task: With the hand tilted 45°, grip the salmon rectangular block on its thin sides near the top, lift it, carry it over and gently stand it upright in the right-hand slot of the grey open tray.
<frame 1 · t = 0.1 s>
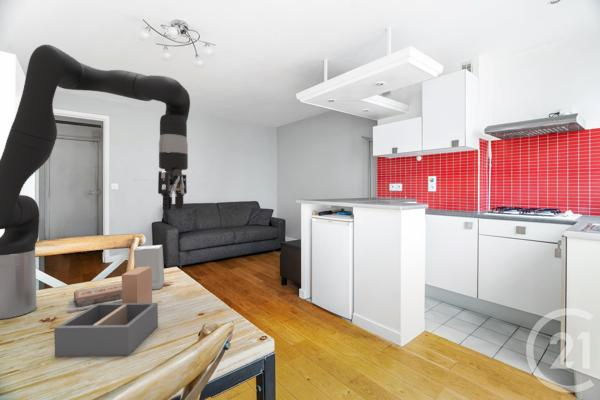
hand: (173, 209, 81), 29 cm above the table, tool pointing down, fingers open, 8 cm apart
salmon rectangular block: (138, 312, 80), on the table
packaged product: (105, 303, 89), on the table
skincare box: (149, 288, 101), on the table
grey open tray: (111, 339, 65), on the table
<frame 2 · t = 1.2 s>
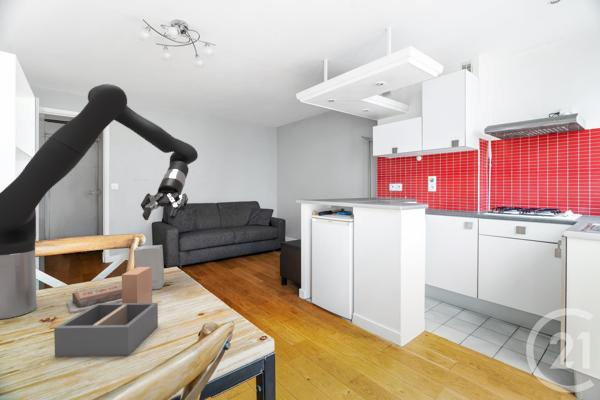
hand: (158, 218, 93), 25 cm above the table, tool tilted 45°, fingers open, 8 cm apart
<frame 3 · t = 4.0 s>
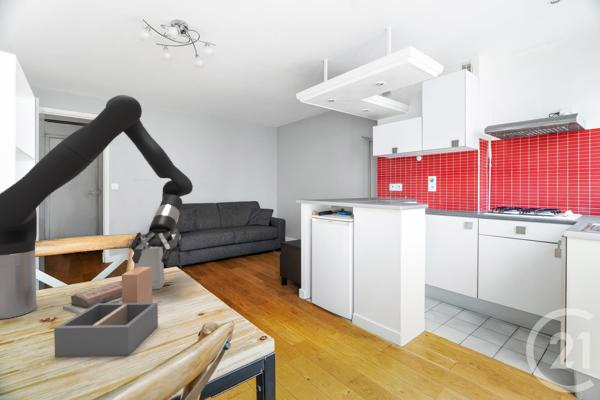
hand: (149, 262, 87), 13 cm above the table, tool tilted 45°, fingers open, 8 cm apart
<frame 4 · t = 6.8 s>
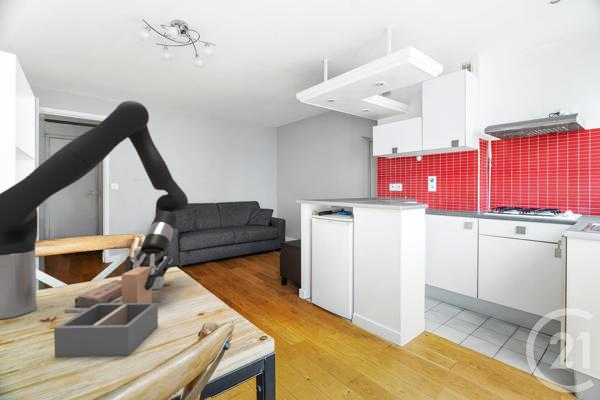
hand: (138, 288, 81), 7 cm above the table, tool tilted 45°, fingers closed on salmon rectangular block, 4 cm apart
salmon rectangular block: (137, 312, 80), on the table, touching gripper
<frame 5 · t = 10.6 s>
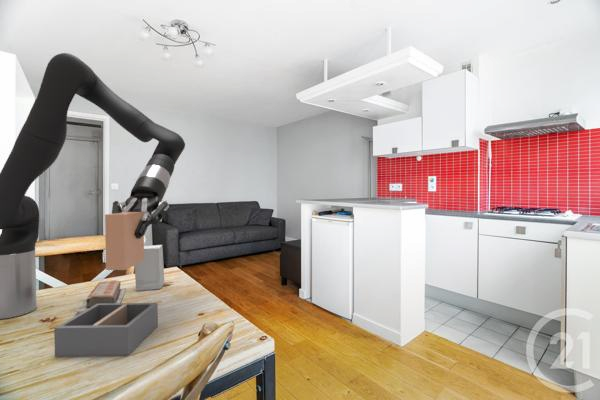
hand: (127, 236, 66), 24 cm above the table, tool tilted 45°, fingers closed on salmon rectangular block, 4 cm apart
salmon rectangular block: (126, 265, 65), point 17 cm above the table, touching gripper
when the fingers open (9 cm above the table, at t = 14.5 s): salmon rectangular block drops 1 cm, resting on grey open tray.
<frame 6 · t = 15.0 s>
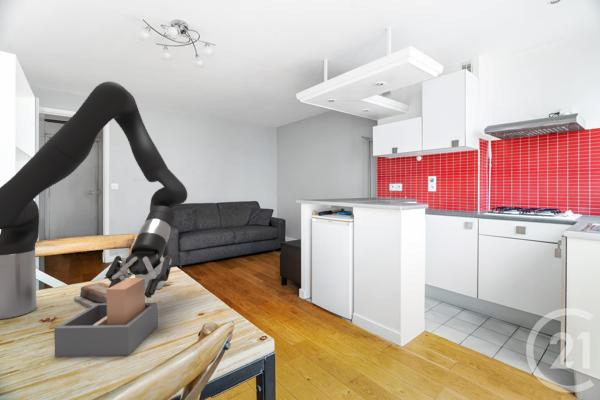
hand: (129, 296, 66), 10 cm above the table, tool tilted 45°, fingers open, 8 cm apart
salmon rectangular block: (127, 334, 66), point 1 cm above the table, touching grey open tray
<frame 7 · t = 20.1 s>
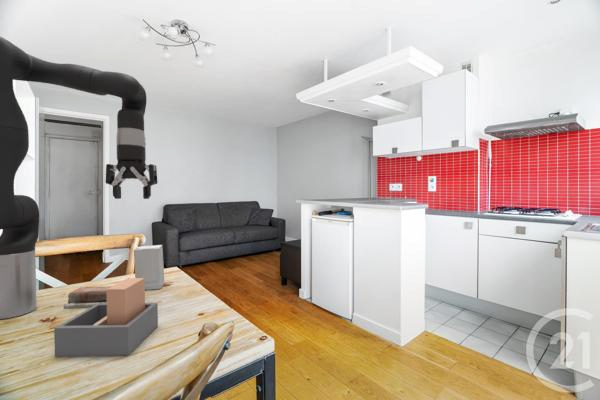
hand: (132, 198, 86), 32 cm above the table, tool pointing down, fingers open, 8 cm apart
at the end: salmon rectangular block 0.4 cm from the target spot on the grey open tray, point 1.0 cm above the grey open tray's base; salmon rectangular block tilted 0°; the gripper is holding nothing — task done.
